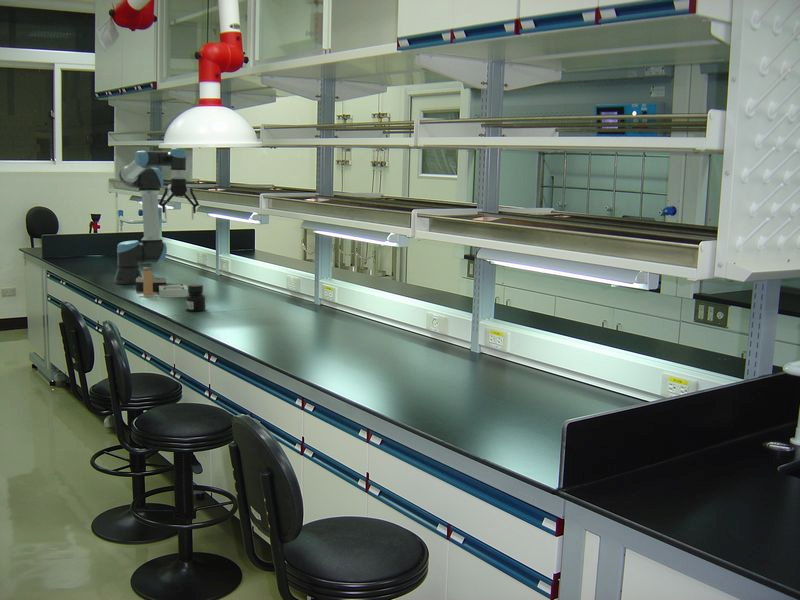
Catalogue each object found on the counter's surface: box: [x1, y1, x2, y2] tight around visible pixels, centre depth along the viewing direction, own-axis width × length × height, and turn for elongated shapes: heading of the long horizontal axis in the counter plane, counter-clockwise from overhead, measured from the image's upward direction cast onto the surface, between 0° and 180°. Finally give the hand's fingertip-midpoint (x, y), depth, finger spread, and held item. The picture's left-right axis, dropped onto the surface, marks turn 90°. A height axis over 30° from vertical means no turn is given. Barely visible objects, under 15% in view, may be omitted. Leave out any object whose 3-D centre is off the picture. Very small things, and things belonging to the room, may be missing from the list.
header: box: [158, 283, 189, 298], centre depth 419 cm, size 14×14×5 cm
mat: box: [138, 293, 159, 298], centre depth 415 cm, size 9×9×1 cm
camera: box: [135, 274, 168, 294], centre depth 427 cm, size 16×9×10 cm, turn 93°
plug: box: [142, 266, 153, 296], centre depth 414 cm, size 5×5×14 cm
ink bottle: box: [185, 283, 206, 313], centre depth 378 cm, size 10×9×12 cm
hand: (179, 219), depth 422 cm, fingers open, 13 cm apart
